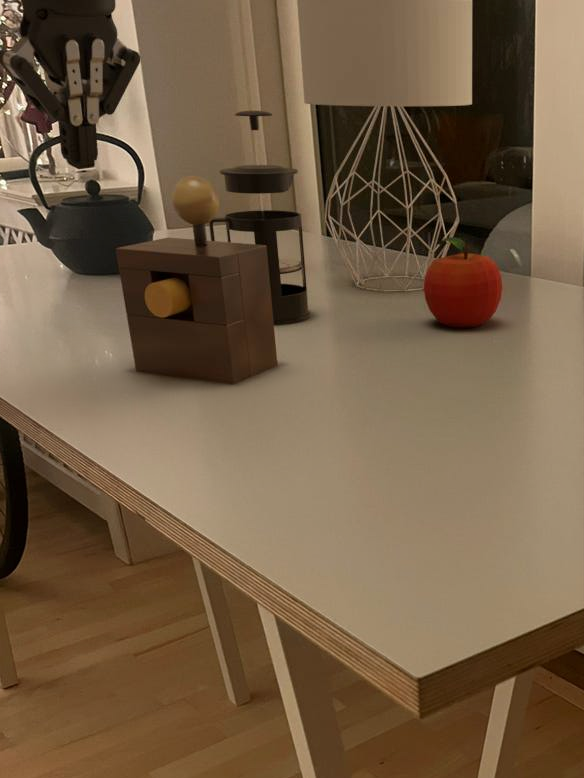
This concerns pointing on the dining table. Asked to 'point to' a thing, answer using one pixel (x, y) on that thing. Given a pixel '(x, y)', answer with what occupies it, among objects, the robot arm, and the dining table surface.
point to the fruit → (462, 287)
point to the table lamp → (387, 85)
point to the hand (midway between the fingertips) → (80, 165)
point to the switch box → (200, 299)
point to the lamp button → (167, 297)
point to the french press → (268, 228)
